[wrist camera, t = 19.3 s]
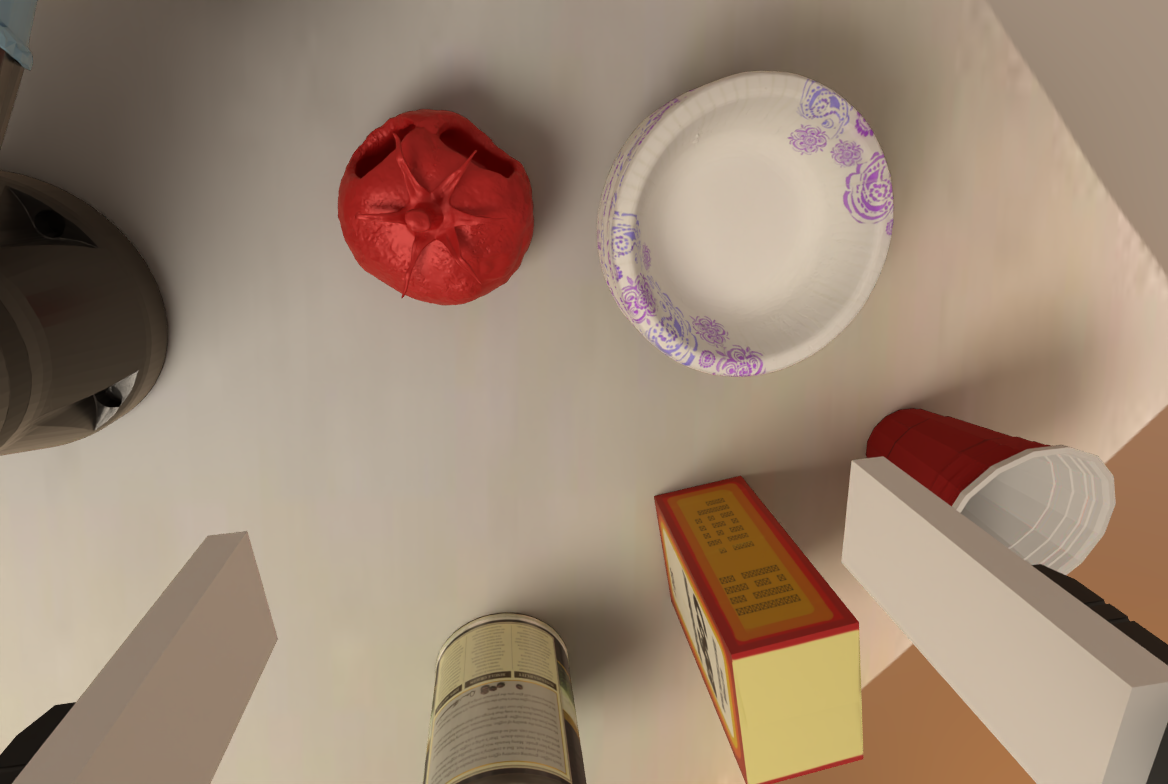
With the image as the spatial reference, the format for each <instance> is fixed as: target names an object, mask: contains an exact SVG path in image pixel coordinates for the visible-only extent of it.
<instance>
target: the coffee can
mask: <svg viewBox="0 0 1168 784" xmlns="http://www.w3.org/2000/svg"><path fill="white" fill-rule="evenodd" d="M435 674H436V677H435V686H434V694H433V702H432V711H431V719H430V727H429V735H428V743H427V751H426V760H425V769H424V778H423V784H586V778H585V771H584V764H583V757H582V751H581V745H580V738H579V731H578V724H577V718H576V711H575V705H574V698H573V691H572V685H571V677H570V672H569V658H568V652H567V649H566V647H565V644H564V642H563V641H562V639H561V638H560V636H559V635H558V634H557V632H555V630H554V629H553V628H551V627H550V626H549V625H547V624H546V623H544V622H542V621H540V620H538V619H536V618H533V617H530V616H526V615H521V614H513V613H501V614H496V615H489V616H485V617H481V618H479V619H476V620H474V621H472V622H470V623H468V624H466V625H464V626H463V627H461V628H460V629H459V630H457V631H456V632H454V633H453V634H452V636H451V637H450V638H449V639H448V640H447V641H446V643H445V644H444V645H443V647H442V649H441V651H440V653H439V655H438V658H437V662H436V667H435Z"/></svg>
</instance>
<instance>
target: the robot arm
mask: <svg viewBox="0 0 1168 784" xmlns="http://www.w3.org/2000/svg"><path fill="white" fill-rule="evenodd" d="M37 1H38V0H0V150H1V146H2V143H3V140H4V136H5V133H6V129H7V126H8V123H9V119H10V116H11V112H12V109H13V106H14V102H15V99H16V96H17V92H18V89H19V85H20V82H21V79H22V75H23V72H24V68H25V69H27V70H30V71H31V68H32V65H33V56H32V53H31V51H30V50H29V48H28V44H29V38H30V34H31V29H32V24H33V20H34V15H35V10H36V5H37ZM167 339H168V333H167V319H166V313H165V308H164V304H163V300H162V297H161V294H160V291H159V289H158V286H157V284H156V282H155V280H154V278H153V276H152V274H151V272H150V270H149V268H148V266H147V265H146V263H145V261H144V260H143V259H142V257H141V256H140V254H139V253H138V251H137V250H136V249H135V248H134V246H133V245H132V244H131V243H130V241H129V240H128V239H127V238H126V237H125V236H124V235H123V234H122V233H121V232H120V231H119V230H118V229H117V228H116V227H115V226H114V225H113V224H112V223H111V222H110V221H109V220H108V219H106V218H105V217H104V216H103V215H101V214H100V213H99V212H98V211H96V210H95V209H94V208H92V207H91V206H89V205H88V204H86V203H85V202H83V201H82V200H80V199H78V198H77V197H75V196H73V195H71V194H69V193H68V192H66V191H64V190H62V189H60V188H57V187H55V186H53V185H51V184H48V183H46V182H43V181H41V180H38V179H35V178H31V177H28V176H25V175H21V174H17V173H12V172H7V171H1V170H0V456H2V455H8V454H14V453H20V452H26V451H32V450H38V449H44V448H50V447H55V446H60V445H64V444H68V443H71V442H74V441H77V440H80V439H82V438H85V437H87V436H90V435H92V434H94V433H96V432H98V431H100V430H102V429H103V428H105V427H106V426H108V425H109V424H111V423H113V422H114V421H116V420H117V419H119V418H120V417H122V416H123V415H125V414H126V413H128V412H129V411H130V410H132V409H133V408H134V407H135V406H136V405H137V404H139V403H140V402H141V401H142V399H143V398H144V397H145V396H146V395H147V394H148V392H149V391H150V390H151V388H152V387H153V385H154V383H155V382H156V380H157V378H158V376H159V374H160V371H161V369H162V366H163V363H164V359H165V355H166V349H167ZM841 563H842V564H843V565H844V566H845V567H846V568H847V569H848V570H849V572H850V573H851V574H852V575H853V576H854V577H855V578H856V579H857V581H858V582H859V583H860V584H861V585H862V586H863V587H864V589H865V590H866V591H867V592H868V593H869V594H870V595H871V596H872V598H873V599H874V600H875V601H876V602H877V603H878V604H879V606H880V607H881V608H882V609H883V610H884V611H885V612H886V613H887V615H888V616H889V617H890V618H891V619H892V620H893V621H894V622H895V624H896V625H897V626H898V627H899V628H900V629H901V630H902V632H903V633H904V634H905V635H906V636H907V637H908V638H909V639H910V641H911V642H912V643H913V644H914V645H915V646H916V647H917V648H918V650H919V651H920V652H921V653H922V654H923V655H924V656H925V657H926V659H927V660H928V661H929V662H930V663H931V664H932V665H933V667H935V669H936V670H937V671H938V672H939V673H940V675H941V676H942V677H943V678H944V679H945V680H946V681H947V682H948V684H949V685H950V686H951V687H952V688H953V689H954V690H955V692H957V694H958V695H959V696H960V697H961V698H962V699H963V701H964V702H965V703H966V704H967V705H968V706H969V707H970V708H971V710H972V711H973V712H974V713H975V714H976V715H977V716H978V717H979V719H980V720H981V721H982V722H983V723H984V724H985V725H986V727H987V728H988V729H989V730H990V731H991V732H992V733H993V734H994V736H995V737H996V738H997V739H998V740H999V741H1000V742H1001V744H1002V745H1003V746H1004V747H1005V748H1006V749H1007V750H1008V751H1009V753H1010V754H1011V755H1012V756H1013V757H1014V758H1015V759H1016V760H1017V762H1018V763H1019V764H1020V765H1021V766H1022V767H1023V768H1024V770H1025V771H1026V772H1027V773H1028V774H1029V775H1030V776H1031V777H1032V779H1033V780H1034V781H1035V782H1036V783H1037V784H1168V645H1167V644H1166V643H1165V642H1163V641H1162V640H1160V639H1159V638H1158V637H1156V636H1155V635H1153V634H1152V633H1150V632H1149V631H1148V630H1146V629H1145V628H1143V627H1142V626H1140V625H1139V624H1138V623H1136V622H1135V621H1131V622H1130V621H1129V619H1128V616H1126V615H1125V614H1123V613H1122V612H1121V611H1119V610H1118V609H1116V608H1115V607H1114V606H1112V605H1110V604H1105V602H1104V599H1102V598H1101V597H1099V596H1098V595H1096V594H1095V593H1094V592H1092V591H1091V590H1089V589H1088V588H1087V587H1085V586H1084V585H1082V584H1081V583H1079V582H1078V581H1077V580H1075V579H1073V578H1071V577H1068V576H1066V575H1064V574H1062V573H1060V572H1057V571H1055V570H1053V569H1051V568H1049V567H1046V566H1044V565H1042V564H1036V565H1030V564H1029V563H1028V562H1026V561H1025V560H1024V559H1022V558H1021V557H1019V556H1018V555H1017V554H1015V553H1014V552H1013V551H1011V550H1010V549H1009V548H1007V547H1006V546H1004V545H1003V544H1002V543H1000V542H999V541H998V540H996V539H995V538H994V537H992V536H991V535H990V534H988V533H987V532H985V531H984V530H983V529H981V528H980V527H979V526H977V525H976V524H975V523H973V522H972V521H970V520H969V519H968V518H966V517H965V516H964V515H962V514H961V513H960V512H958V511H957V510H956V509H954V508H953V507H951V506H950V505H949V504H947V503H946V502H945V501H943V500H942V499H941V498H939V497H938V496H936V495H935V494H934V493H932V492H931V491H930V490H928V489H927V488H926V487H924V486H923V485H922V484H920V483H919V482H917V481H916V480H915V479H913V478H912V477H911V476H909V475H908V474H907V473H905V472H904V471H902V470H901V469H900V468H898V467H897V466H896V465H894V464H893V463H892V462H890V461H889V460H888V459H886V458H885V457H883V456H882V457H874V458H865V459H857V460H852V462H851V472H850V482H849V492H848V502H847V511H846V521H845V531H844V541H843V551H842V561H841ZM277 640H278V638H277V634H276V631H275V627H274V624H273V620H272V617H271V613H270V610H269V606H268V603H267V599H266V596H265V592H264V588H263V585H262V581H261V578H260V574H259V571H258V567H257V564H256V560H255V557H254V553H253V550H252V546H251V543H250V539H249V536H248V532H247V531H245V532H236V533H228V534H219V535H211V536H207V538H206V539H205V540H204V541H203V543H202V544H201V545H200V546H199V548H198V549H197V550H196V551H195V553H194V554H193V555H192V557H191V558H190V559H189V560H188V562H187V563H186V564H185V565H184V567H183V568H182V569H181V570H180V572H179V573H178V574H177V575H176V577H175V578H174V579H173V581H172V582H171V583H170V584H169V586H168V587H167V588H166V589H165V591H164V592H163V593H162V594H161V596H160V597H159V598H158V600H157V601H156V602H155V603H154V605H153V606H152V607H151V608H150V610H149V611H148V612H147V613H146V615H145V616H144V617H143V618H142V620H141V621H140V622H139V624H138V625H137V626H136V627H135V629H134V630H133V631H132V632H131V634H130V635H129V636H128V637H127V639H126V640H125V641H124V643H123V644H122V645H121V646H120V648H119V649H118V650H117V651H116V653H115V654H114V655H113V656H112V658H111V659H110V660H109V661H108V663H107V664H106V665H105V667H104V668H103V669H102V670H101V672H100V673H99V674H98V675H97V677H96V678H95V679H94V680H93V682H92V683H91V684H90V685H89V687H88V688H87V689H86V691H85V692H84V693H83V694H82V696H81V697H80V698H79V699H78V701H77V702H75V703H68V704H60V705H55V706H54V707H52V708H51V709H50V710H49V711H47V712H46V713H45V714H43V715H42V716H41V717H40V718H38V719H37V720H36V721H35V722H33V723H32V724H31V725H30V726H28V727H27V728H26V729H24V730H23V731H22V732H21V733H19V734H18V735H17V736H16V737H15V738H14V739H13V741H12V742H11V743H10V744H9V745H8V746H7V748H6V749H5V750H4V751H3V752H2V754H1V755H0V784H210V783H211V781H212V779H213V777H214V775H215V772H216V770H217V768H218V766H219V764H220V762H221V760H222V758H223V755H224V753H225V751H226V749H227V747H228V745H229V743H230V740H231V738H232V736H233V734H234V732H235V730H236V728H237V725H238V723H239V721H240V719H241V717H242V715H243V713H244V710H245V708H246V706H247V704H248V702H249V700H250V698H251V695H252V693H253V691H254V689H255V687H256V685H257V683H258V680H259V678H260V676H261V674H262V672H263V670H264V668H265V665H266V663H267V661H268V659H269V657H270V655H271V653H272V650H273V648H274V646H275V644H276V642H277Z"/></svg>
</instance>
